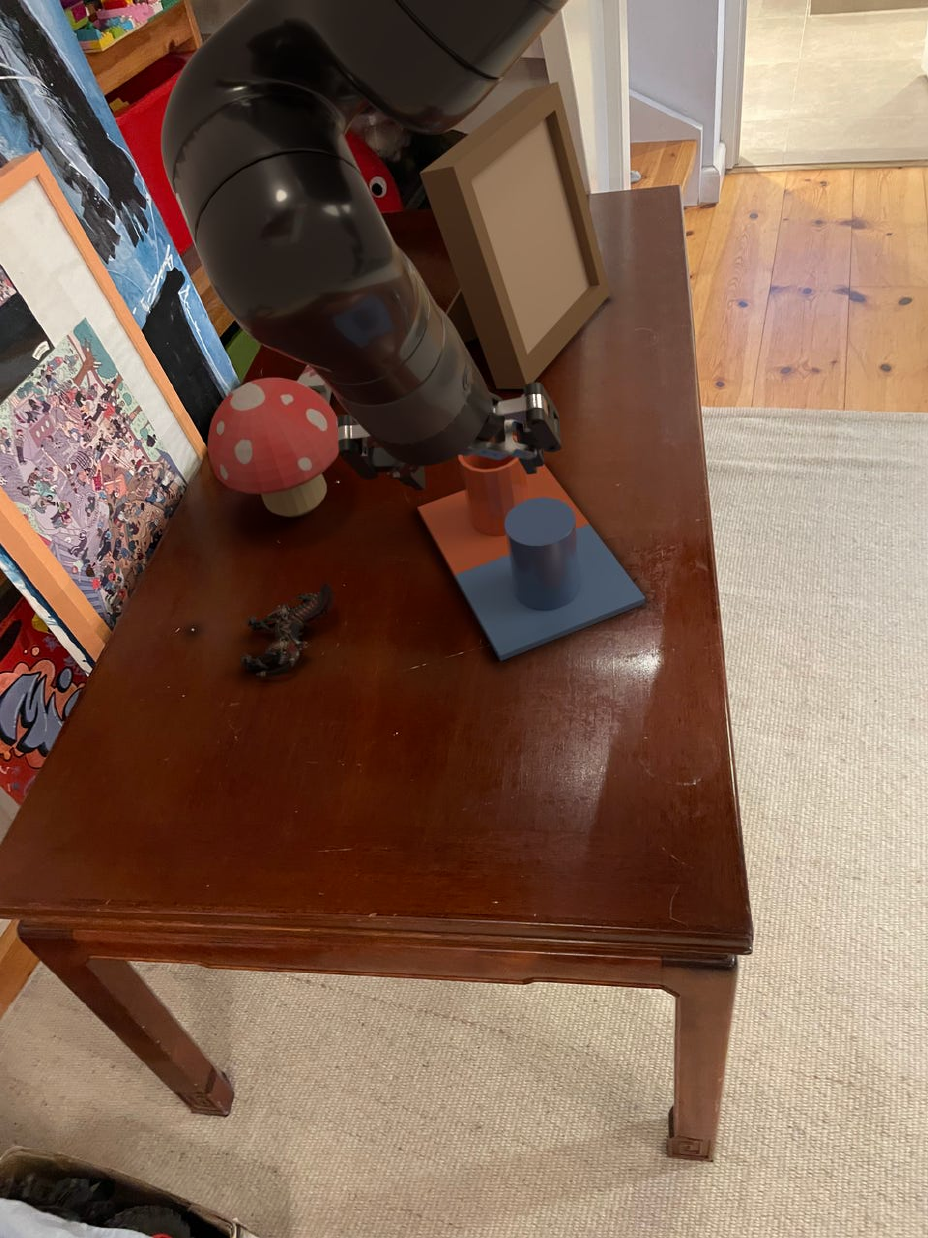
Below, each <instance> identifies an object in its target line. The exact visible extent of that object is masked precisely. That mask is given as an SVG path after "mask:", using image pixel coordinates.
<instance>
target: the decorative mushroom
mask: <svg viewBox="0 0 928 1238" xmlns="http://www.w3.org/2000/svg"><path fill="white" fill-rule="evenodd" d="M337 418H338V416H337V415H336V413H335V410H334V409H333V408H332V406H331V404H330V403H328V402H327V401H326V400H325V399H324V398H323V397H322V396H321V395H320V394H318V393H317V392H315V391H314V390H312V389H311V388H309V387H308V386H306V385H304V384H302V383H300V382H297V380H292V379H289V378H283V377H264V378H259V379H254V380H251V381H249V382H246V383H244V384H242V385H240V386H239V387H237V388H235V389H234V390H233V391H232V392H230V394H228V395H227V396H225V398H224V399H223V400H222V401H221V403H220V405H218V408H217V409H216V410H215V412H214V413H213V417H212V418H211V421H210V426H209V431H208V435H207V452H208V458H209V461H210V464H211V467H212V469H213V472H214V474H215V477H216V479H217V480H219V481H220V482H221V483H222V484H224V485H225V487H227V488H228V489H232V490H234V491H238V492H241V493H243V494H247V495H261V498H262V501H263V504H264V505H265V508H266V509H267V510H269V512H270V513H273V514H275V515H278V516H281V517H285V518H298V517H302V516H305V515H307V514H309V513H311V512H312V511H314V510H315V509H316V508H317V507H318V506H319V505H320V504H321V502H322V501H323V500H324V499H325V496H326V495H327V491H328V488H327V486H328V485H327V482H326V480H325V478H324V475H323V473H324V472H325V471H326V470H327V469H328V468H329V467H330V466H331V465H332V464H333V463H334V462H335V461H336V459H337V458H338V455H339V452H338V430H337V429H338V426H337Z"/></svg>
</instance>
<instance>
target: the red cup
mask: <svg viewBox="0 0 928 1238" xmlns="http://www.w3.org/2000/svg"><path fill="white" fill-rule="evenodd" d="M513 438H514V441H515V442H517V435H515V434H513ZM489 442H491V443H494V442H493V438H492V439H491V440H490V441H489ZM457 459H458V465H459V470H460V475H461V480H462V485H463V490H464V491H465V496H466V501H467V507H468V512H469V517H470V520H471V523H472V525H473V527H474V528H475V529H476V530H478V531H479V532H481V533H483V534H486V535H491V536H503V535H506V534H505V527H504V522H505V518H506V516H507V514H508V513H509V511H510V510H511V509H512V508H514V507H515V506H516V505H518V504H519V503H521V502H524V501H526V500H529V492H528V483H527V475H526V471H525V470H524V468H523V466H522V464H521V463H520V461H519V458H517V457H513V456H507V457H505V458H503V459H501V460H496V459H491V458H487V457H483V456H478V455H474V454H472V455H470V456H463V455H458V456H457Z"/></svg>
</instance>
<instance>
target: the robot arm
mask: <svg viewBox="0 0 928 1238" xmlns="http://www.w3.org/2000/svg"><path fill="white" fill-rule="evenodd" d="M569 1H570V0H247V1H246V2H245V3H244V4H243V5H242V6H241V7H240V8H239V9H237V10H236V11H235V12H234V13H233V14H232V15H231V16H230V17H229V18H228V19H227V20H225V22H224V23H222V24H221V25H220V26H219V27H218V28H217V29H216V30H215V31H214V32H213V33H211V35H210V36H209V37H207V39H206V40H205V41H203V43H202V44H201V45H200V46H199V47H198V48H197V49H196V50H195V52H194V53H193V54H192V55H191V57H190V58H189V59H188V61H187V62H186V64H185V65H184V67H183V68H182V70H181V72H180V73H179V75H178V77H177V79H176V81H175V84H174V85H173V88H172V90H171V93H170V96H169V99H168V101H167V104H166V108H165V112H164V115H163V119H162V125H161V133H160V151H161V158H162V164H163V167H164V171H165V174H166V177H167V179H168V182H169V185H170V187H171V190H172V192H173V195H174V197H175V199H176V202H177V204H178V206H179V209H180V211H181V214H182V216H183V219H184V222H185V224H186V226H187V229H188V232H189V234H190V237H191V239H192V242H193V244H194V247H195V250H196V252H197V255H198V257H199V260H200V262H201V264H202V267H203V269H204V272H205V275H206V277H207V280H208V281H209V284H210V285H211V287H212V289H213V291H214V293H215V295H216V297H217V298H218V299H219V301H220V303H221V304H222V306H223V307H224V308H225V310H226V311H227V312H228V314H229V315H230V316H231V318H232V319H233V320H234V321H235V322H236V323H237V325H238V326H239V327H240V328H241V329H242V330H243V331H244V333H246V334H247V335H248V336H249V337H250V338H251V339H253V340H254V341H255V342H256V343H258V344H260V345H261V346H263V347H265V348H267V349H270V350H272V351H274V352H277V353H279V354H281V355H284V356H286V357H288V358H290V359H292V360H295V361H297V362H299V363H302V364H305V365H306V366H307V365H308V366H310V367H311V368H312V369H313V370H314V371H315V372H316V373H317V375H318V376H319V377H320V378H321V379H322V380H323V381H324V382H325V383H326V384H327V385H328V386H329V387H330V388H331V390H332V391H331V392H332V393H333V395H334V397H335V398H336V400H337V402H338V403H339V404H340V405H341V407H342V408H343V409H344V410H345V412H346V413H347V414H342V415H339V416H337V426H338V429H337V430H338V452H339V453H338V455H339V456H340V457H341V459H343V460H344V461H345V463H347V464H348V466H349V467H350V468H351V469H352V470H353V471H354V472H355V473H356V474H357V475H358V476H359V477H360V478H361V479H362V480H367V481H371V480H375V479H377V478H379V473H386V474H387V477H388V478H390V479H394V480H398V481H399V482H400V483H402V485H404V486H406V487H411V488H412V489H413V490H414V491H415V492H418V491H419V492H420V491H424V490H426V487H427V485H426V470H425V467H428V466H429V467H430V466H437V465H440V464H444V463H446V462H449V461H451V460H454V458H456V457H458V455H463V456H470V455H472V454H474V455H478V456H483V457H487V458H491V459H496V460H501V459H503V458H505V457H507V456H513V457H517V458H519V461H520V463H521V464H522V466H523V468H524V470H525V471H526V473H527V475H528V474H535V473H537V467H541V466H543V465H545V457H544V456H545V455H544V452H547V453H556V452H559V451H560V450H562V449H563V448H562V447H563V446H562V436H561V425H560V424H561V423H560V413H559V412H558V410H557V407H556V406H555V404H554V402H553V401H552V399H551V397H550V395H549V394H548V391H547V390H546V389H545V386H544V385H543V383H541V382H533V383H529V384H526V385H525V386H524V389H523V394H522V395H520V397H516V398H512V399H506V400H503V399H502V398H501V397H500V396H498V395H497V394H495V393H492V392H490V391H489V389H488V386H487V384H486V382H485V379H484V377H483V376H482V374H481V372H480V370H479V368H478V367H477V364H476V363H475V361H474V359H473V358H472V355H471V354H470V352H469V350H468V348H467V347H466V345H465V343H463V341H462V339H461V337H460V336H459V334H458V332H457V330H456V328H455V327H454V325H453V323H452V322H451V320H450V319H449V318H448V316H447V315H446V314H445V313H446V312H445V311H444V310H443V309H442V308H441V306H439V305H438V304H437V302H436V301H435V298H434V297H433V295H432V294H431V292H430V290H429V288H428V286H427V285H426V282H425V281H424V279H423V277H422V276H421V274H420V272H419V270H418V269H417V268H416V266H415V264H414V263H413V261H412V260H411V259H410V257H408V255H407V254H406V253H405V252H404V250H403V249H402V248H401V247H399V245H397V243H396V242H395V240H394V238H393V236H392V234H391V232H390V229H389V227H388V226H387V224H386V223H387V222H386V221H385V220H384V217H383V215H382V213H381V210H380V209H379V207H378V205H377V203H376V201H375V197H374V196H373V194H372V192H371V190H370V188H369V185H368V183H367V182H366V180H365V178H364V176H363V173H362V172H361V170H360V167H359V165H358V163H357V161H356V159H355V157H354V154H353V152H352V150H351V148H350V146H349V143H348V141H347V140H346V135H347V133H348V130H349V129H350V127H351V126H352V124H353V123H354V121H355V120H356V119H357V118H358V116H360V115H361V114H362V113H363V112H364V111H365V110H366V109H368V108H369V107H371V106H372V107H373V108H374V109H375V110H376V111H378V112H379V113H380V114H382V115H383V116H384V117H386V118H387V119H388V120H390V121H392V122H394V124H397V125H399V126H401V127H402V128H404V129H406V130H408V131H410V132H413V133H416V134H421V135H425V136H426V135H430V136H433V135H435V136H436V135H441V134H445V133H447V132H450V131H452V130H453V129H455V128H456V127H458V126H459V125H461V124H462V123H463V122H465V120H467V118H469V117H470V116H471V115H472V114H473V113H474V112H475V111H476V110H477V109H478V107H479V106H480V105H481V104H482V103H483V102H484V101H485V100H486V99H487V98H488V96H489V95H491V93H492V92H493V91H494V90H495V89H496V87H497V86H498V85H499V84H500V83H501V81H502V79H503V78H504V77H505V76H506V75H507V74H508V73H509V71H511V69H512V68H513V67H514V66H515V65H516V63H517V62H518V61H519V60H520V58H522V56H523V55H524V54H525V53H526V51H527V50H528V49H529V48H530V47H531V46H532V45H533V43H534V42H535V41H536V40H537V38H538V37H539V36H540V35H541V34H542V33H543V31H544V30H545V29H546V28H547V26H548V25H549V24H551V22H552V21H553V19H554V18H555V17H556V16H557V15H558V14H559V12H560V11H561V10H562V9H563V8H564V7H565V6H566V5H567V3H568V2H569ZM514 431H515V432H516V436H517V442H515V441H514V438H513V435H514ZM492 438H493V442H494V443H491V442H489V441H490V440H491V439H492ZM377 444H378V445H379V446H380V447H377Z"/></svg>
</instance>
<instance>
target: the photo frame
mask: <svg viewBox="0 0 928 1238" xmlns="http://www.w3.org/2000/svg"><path fill="white" fill-rule="evenodd" d="M561 92H562V91H561V88H560V84H559V81H556V82H551V83H547V84H544V85H540V86H536V87H531V88H528V89H525V90H523V91H522V92H521V93H519V94H518V95H517V96H515V97H514V98H513V99H512V100H511V101H509V102H508V103H507V104H505V105H504V106H503V107H502V108H500V109H498V111H496V113H494V114H493V115H491V116H490V117H488V119H487V120H485V121H484V122H483V123H481V124H480V125H479V126H477V127H476V128H475V129H474V130H473V131H471V132H469V133H468V134H467V135H466V136H465V137H463V138H462V139H461V140H460V141H458V142H457V143H456V144H455V145H453V146H452V147H451V148H450V149H448V150H446V152H445V153H443V154H441V156H440V157H438V158H437V159H435V160H434V161H433V162H431V163H430V164H429V165H428V166H427V167H425V168H424V169H423V170H422V171H420V172H419V176H420V179H421V183H422V185H423V187H424V190H425V193H426V195H427V198H428V201H429V204H430V207H431V209H432V213H433V215H434V218H435V221H436V224H437V226H438V229H439V231H440V234H441V237H442V241H443V243H444V246H445V249H446V252H447V254H448V257H449V260H450V262H451V265H452V268H453V271H454V273H455V274H454V275H455V276H456V279H457V282H458V285H459V288H458V291H457V292H456V294H455V296H454V297H453V299H452V301H451V302H450V304H449V306H448V308H447V309H446V311H445V312H444V313H445V314H446V315H447V316H448V318H449V319H450V320H451V322H452V323H453V325H454V327H455V328H456V330H457V332H458V334H459V336H460V337H461V339H462V341H463V343H464V344H466V343H469V342H471V341H474V340H477V339H478V341H479V344H480V345H481V349H482V351H483V355H484V357H485V361H486V364H487V366H488V368H489V371H490V374H491V378H492V380H493V383H494V385H495V389H496V390H524V386H525V385H526V384H529V383H535V381H536V380H537V379H538V378H539V377H540V375H542V373H543V372H544V371H545V370H546V368H547V367H548V366H549V365H550V364H551V363H552V362H553V360H554V359H555V358H556V357H557V356H558V354H559V353H560V352H561V351H562V350H563V349H564V348H565V347H566V345H567V344H568V343H569V341H571V340H572V339H573V337H574V336H575V335H576V334H577V333H578V332H579V331H580V329H581V328H583V326H584V325H585V324H586V322H587V321H588V320H589V319H590V318H591V317H592V316H593V314H594V313H595V312H596V311H597V310H598V309H599V307H601V305H602V304H603V303H604V302H605V301H606V299H607V298H608V297H609V296H610V295H611V291H610V287H609V282H608V278H607V274H606V270H605V265H604V262H603V257H602V254H601V250H600V246H599V242H598V238H597V233H596V229H595V225H594V221H593V217H592V213H591V209H590V206H589V202H588V201H589V200H588V197H587V193H586V188H585V186H584V181H583V177H582V173H581V169H580V165H579V161H578V156H577V153H576V149H575V144H574V140H573V137H572V132H571V128H570V125H569V120H568V116H567V113H566V108H565V104H564V100H563V96H562V93H561Z"/></svg>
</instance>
